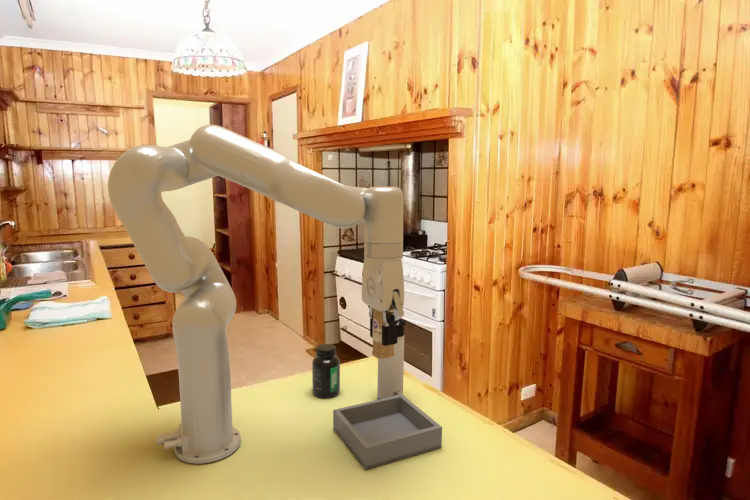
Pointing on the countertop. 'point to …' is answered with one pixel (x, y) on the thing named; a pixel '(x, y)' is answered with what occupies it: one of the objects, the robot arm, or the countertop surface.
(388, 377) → the travel mug
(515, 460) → the countertop surface
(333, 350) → the supplement bottle
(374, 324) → the sprinkles bottle
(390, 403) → the tray
